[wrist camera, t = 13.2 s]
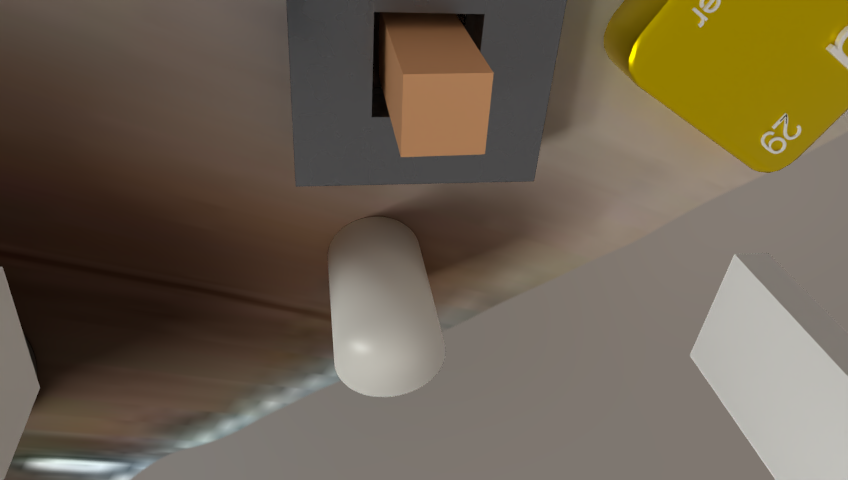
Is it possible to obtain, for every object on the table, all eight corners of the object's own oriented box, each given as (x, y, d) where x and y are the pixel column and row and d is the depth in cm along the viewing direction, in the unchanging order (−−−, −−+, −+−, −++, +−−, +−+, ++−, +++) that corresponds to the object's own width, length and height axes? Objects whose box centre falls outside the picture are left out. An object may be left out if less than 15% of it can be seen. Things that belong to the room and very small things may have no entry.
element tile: (780, -203, 34) (841, -199, 31) (923, -37, 41) (989, -16, 37) (586, 42, 41) (617, 72, 37) (738, 154, 47) (778, 189, 43)
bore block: (295, 153, 41) (295, 186, 38) (283, -100, 33) (282, -86, 30) (516, 150, 43) (533, 181, 40) (553, -88, 36) (579, -73, 32)
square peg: (379, 76, 39) (400, 157, 31) (379, 6, 37) (403, 74, 29) (446, 75, 40) (485, 154, 32) (450, 6, 38) (493, 72, 29)
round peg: (328, 293, 48) (334, 400, 40) (326, 217, 44) (333, 319, 36) (417, 289, 49) (441, 393, 41) (422, 215, 45) (450, 312, 37)
